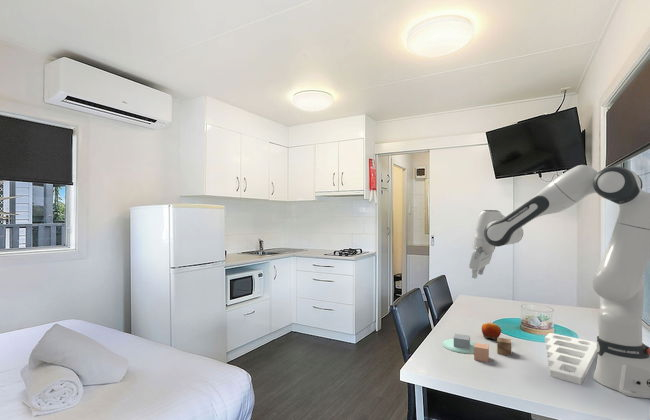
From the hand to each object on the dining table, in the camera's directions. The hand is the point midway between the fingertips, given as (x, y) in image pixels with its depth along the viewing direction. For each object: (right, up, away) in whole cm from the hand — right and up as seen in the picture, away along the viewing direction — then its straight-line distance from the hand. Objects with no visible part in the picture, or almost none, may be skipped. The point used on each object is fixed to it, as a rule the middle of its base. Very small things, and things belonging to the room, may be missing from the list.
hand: (477, 276), depth 151 cm
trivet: (+26, -30, -16) cm, 43 cm away
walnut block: (+6, -29, -12) cm, 32 cm away
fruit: (+9, -30, +5) cm, 31 cm away
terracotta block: (-6, -29, -18) cm, 34 cm away
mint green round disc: (-9, -29, -5) cm, 31 cm away
